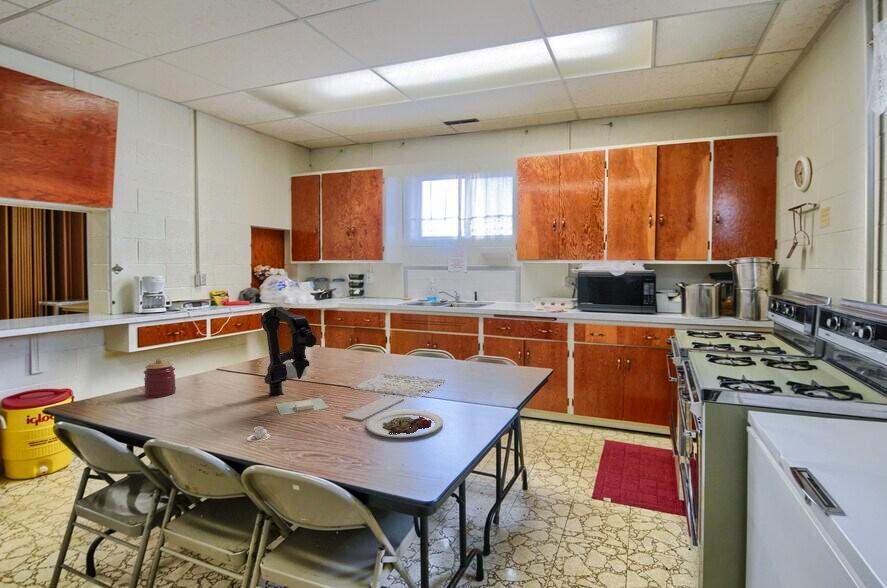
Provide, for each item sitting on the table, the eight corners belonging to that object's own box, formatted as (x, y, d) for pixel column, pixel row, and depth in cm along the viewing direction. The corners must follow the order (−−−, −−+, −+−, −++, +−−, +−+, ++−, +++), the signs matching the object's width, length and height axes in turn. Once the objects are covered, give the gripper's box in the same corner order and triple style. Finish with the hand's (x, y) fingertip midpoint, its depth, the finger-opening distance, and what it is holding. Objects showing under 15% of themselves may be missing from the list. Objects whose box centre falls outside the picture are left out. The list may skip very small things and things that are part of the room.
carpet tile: (445, 383, 243) (445, 379, 243) (420, 399, 215) (420, 395, 215) (381, 376, 259) (381, 372, 259) (350, 390, 231) (350, 386, 231)
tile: (294, 402, 201) (297, 407, 195) (310, 400, 204) (313, 404, 198) (294, 407, 201) (297, 411, 195) (310, 404, 204) (313, 409, 198)
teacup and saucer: (260, 432, 174) (260, 422, 174) (276, 435, 171) (276, 424, 171) (242, 440, 166) (241, 430, 166) (259, 444, 163) (258, 433, 163)
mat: (275, 405, 205) (275, 404, 205) (321, 399, 214) (321, 398, 214) (280, 416, 191) (280, 414, 191) (328, 408, 200) (328, 407, 200)
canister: (149, 391, 227) (147, 356, 226) (178, 389, 231) (177, 354, 230) (141, 399, 215) (139, 362, 214) (172, 396, 219) (170, 360, 218)
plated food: (355, 421, 185) (355, 413, 185) (421, 409, 200) (421, 401, 200) (383, 448, 159) (383, 438, 159) (457, 431, 174) (457, 423, 174)
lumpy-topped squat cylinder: (309, 374, 262) (309, 359, 261) (291, 379, 250) (291, 363, 250) (296, 371, 267) (296, 357, 266) (278, 376, 256) (278, 361, 255)
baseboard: (338, 418, 190) (361, 423, 185) (338, 411, 190) (361, 416, 184) (383, 397, 217) (404, 401, 212) (382, 392, 217) (404, 395, 212)
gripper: (276, 342, 210) (277, 375, 211) (282, 349, 193) (283, 386, 194) (302, 340, 215) (302, 373, 216) (309, 347, 198) (310, 383, 199)
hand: (299, 378), depth 206 cm, fingers closed
